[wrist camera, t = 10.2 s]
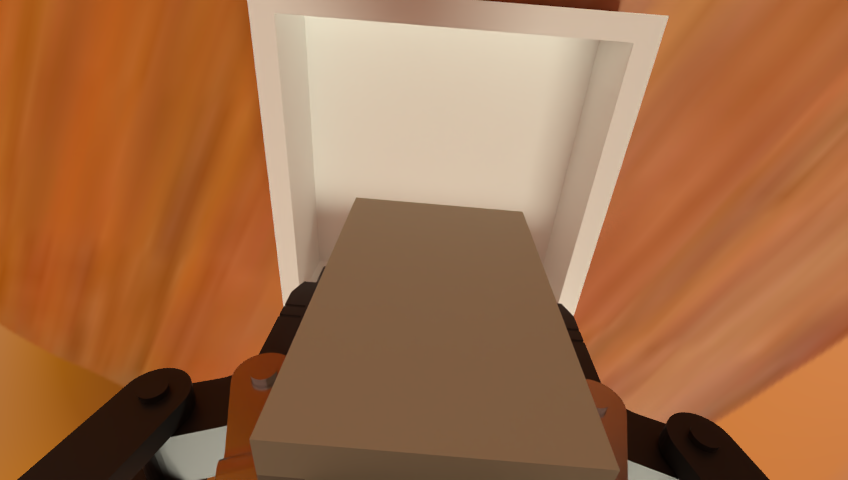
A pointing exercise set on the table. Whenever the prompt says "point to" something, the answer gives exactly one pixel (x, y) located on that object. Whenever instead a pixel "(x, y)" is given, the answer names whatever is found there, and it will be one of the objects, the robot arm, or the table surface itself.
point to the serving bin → (447, 117)
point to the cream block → (432, 359)
